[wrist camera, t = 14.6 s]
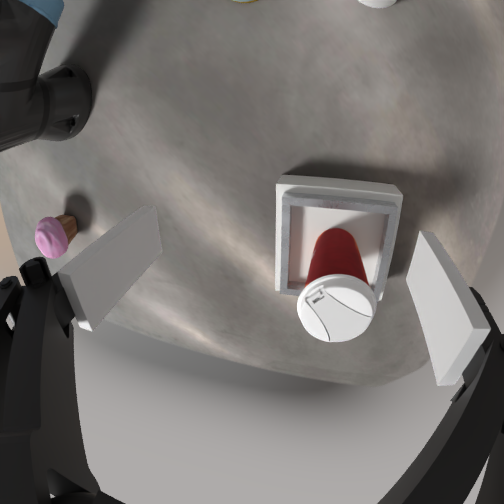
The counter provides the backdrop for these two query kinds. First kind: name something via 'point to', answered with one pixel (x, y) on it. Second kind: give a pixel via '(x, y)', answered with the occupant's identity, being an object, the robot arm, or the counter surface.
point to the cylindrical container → (378, 3)
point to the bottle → (244, 1)
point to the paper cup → (336, 290)
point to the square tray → (334, 225)
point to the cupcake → (55, 235)
